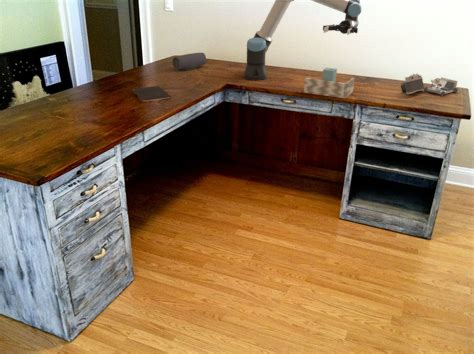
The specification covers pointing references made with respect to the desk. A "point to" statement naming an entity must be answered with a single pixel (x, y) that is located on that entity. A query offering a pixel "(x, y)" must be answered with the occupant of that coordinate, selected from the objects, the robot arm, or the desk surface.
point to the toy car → (442, 86)
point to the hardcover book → (151, 93)
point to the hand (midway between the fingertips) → (336, 31)
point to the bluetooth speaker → (189, 61)
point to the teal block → (329, 74)
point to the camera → (413, 84)
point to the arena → (329, 87)
